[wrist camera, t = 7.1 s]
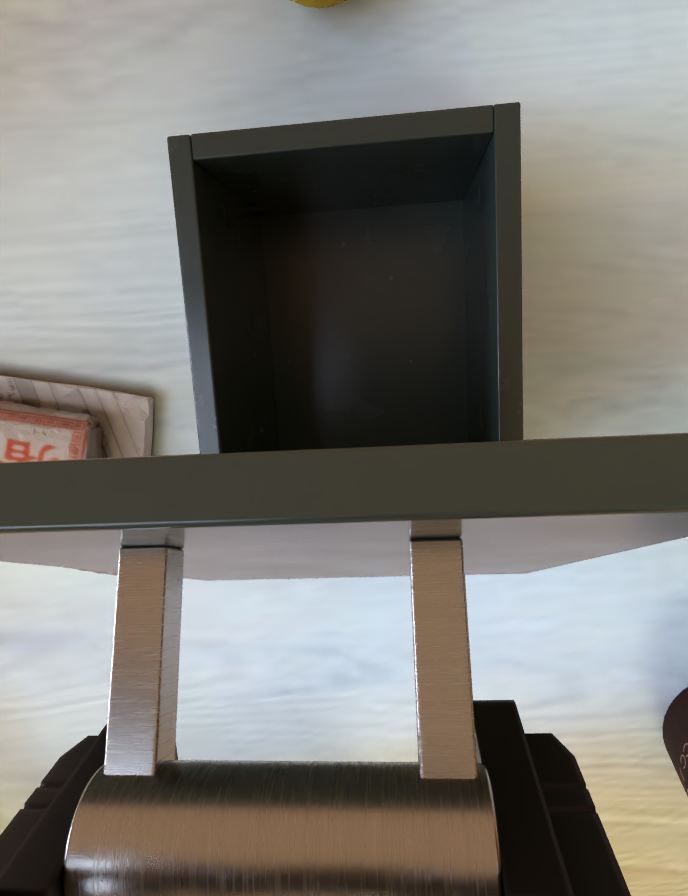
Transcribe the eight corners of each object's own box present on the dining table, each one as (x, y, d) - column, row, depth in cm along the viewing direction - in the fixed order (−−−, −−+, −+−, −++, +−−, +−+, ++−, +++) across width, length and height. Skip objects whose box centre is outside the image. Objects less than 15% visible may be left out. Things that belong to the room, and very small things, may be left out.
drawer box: (247, 204, 30) (165, 135, 20) (477, 185, 29) (520, 101, 19) (271, 490, 33) (210, 564, 22) (483, 482, 32) (524, 556, 21)
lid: (-223, 471, 7) (-340, 1029, 6) (810, 425, 6) (953, 1102, 5) (207, 558, 22) (201, 719, 21) (526, 549, 21) (540, 719, 20)
